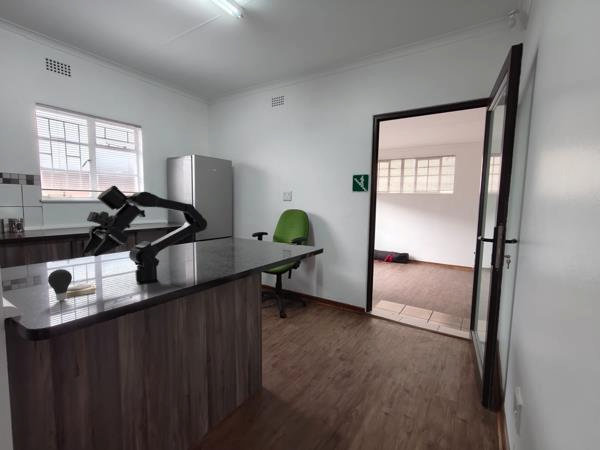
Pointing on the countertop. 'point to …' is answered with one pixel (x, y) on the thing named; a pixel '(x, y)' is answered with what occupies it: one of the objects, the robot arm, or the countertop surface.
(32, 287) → the countertop surface
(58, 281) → the light bulb
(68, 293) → the plinth
